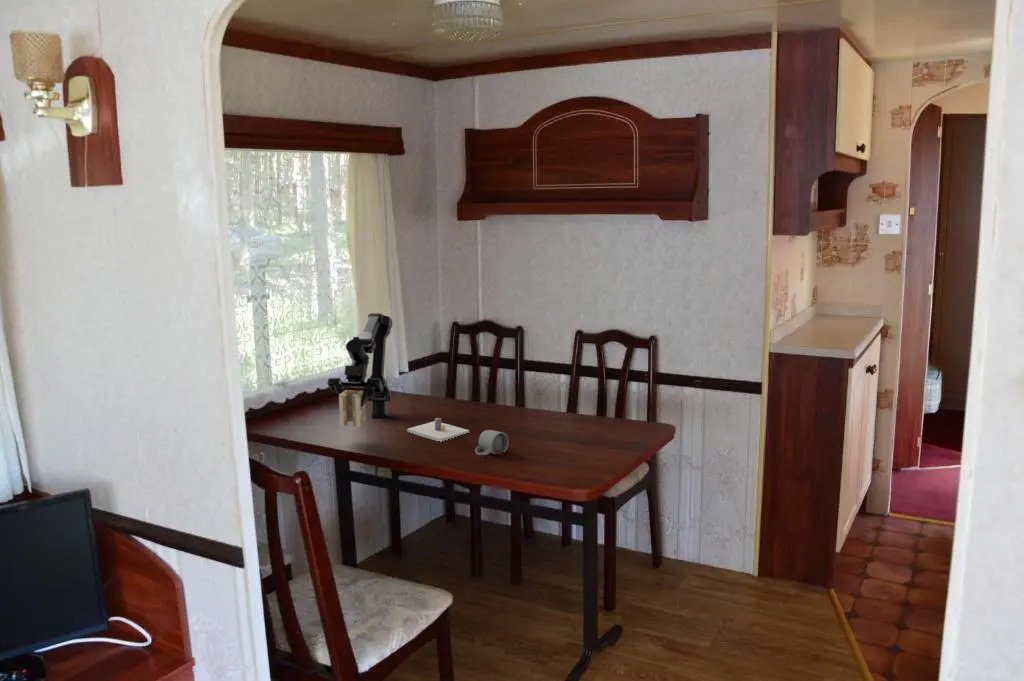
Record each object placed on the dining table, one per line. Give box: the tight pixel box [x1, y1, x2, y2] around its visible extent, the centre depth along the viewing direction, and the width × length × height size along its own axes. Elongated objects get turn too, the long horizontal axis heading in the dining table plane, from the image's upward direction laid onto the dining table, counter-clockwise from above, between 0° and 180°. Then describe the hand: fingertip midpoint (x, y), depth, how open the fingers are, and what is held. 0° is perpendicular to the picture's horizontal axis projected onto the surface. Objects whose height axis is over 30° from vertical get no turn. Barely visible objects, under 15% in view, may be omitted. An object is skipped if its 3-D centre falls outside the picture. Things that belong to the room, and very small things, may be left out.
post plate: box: [406, 417, 470, 443], centre depth 309 cm, size 18×14×5 cm
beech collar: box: [338, 389, 366, 427], centre depth 296 cm, size 7×7×11 cm
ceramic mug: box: [474, 429, 509, 456], centre depth 286 cm, size 11×8×8 cm
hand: (351, 406), depth 295 cm, fingers closed on beech collar, 7 cm apart
